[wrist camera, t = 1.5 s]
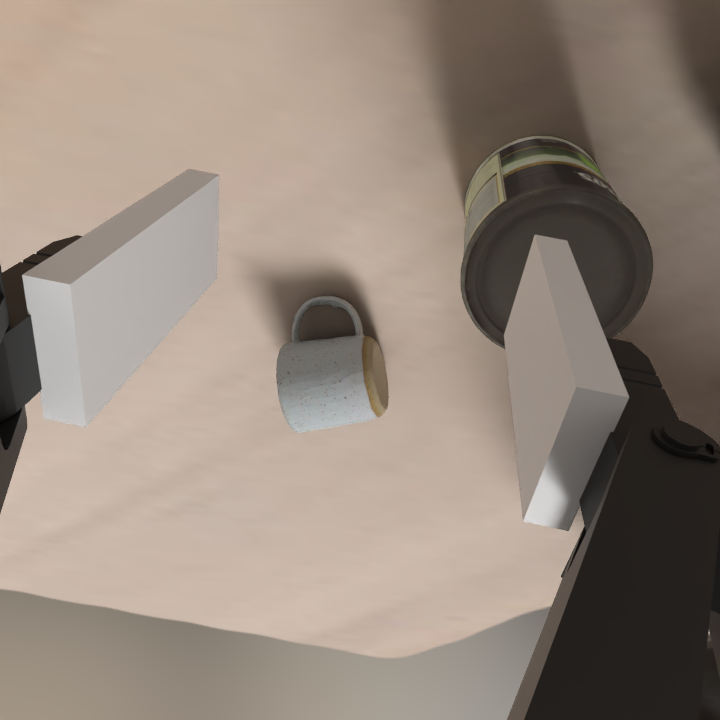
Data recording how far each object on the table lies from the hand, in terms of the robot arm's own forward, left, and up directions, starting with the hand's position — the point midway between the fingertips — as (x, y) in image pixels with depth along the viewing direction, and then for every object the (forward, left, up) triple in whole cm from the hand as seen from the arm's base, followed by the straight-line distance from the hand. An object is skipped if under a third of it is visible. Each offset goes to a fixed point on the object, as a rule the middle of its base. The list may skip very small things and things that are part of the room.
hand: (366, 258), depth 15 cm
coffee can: (-9, +7, -33) cm, 35 cm away
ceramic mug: (+4, +23, -33) cm, 41 cm away
